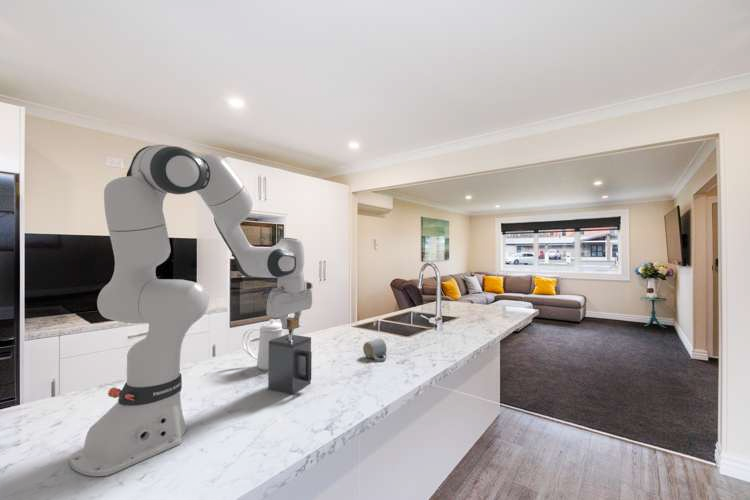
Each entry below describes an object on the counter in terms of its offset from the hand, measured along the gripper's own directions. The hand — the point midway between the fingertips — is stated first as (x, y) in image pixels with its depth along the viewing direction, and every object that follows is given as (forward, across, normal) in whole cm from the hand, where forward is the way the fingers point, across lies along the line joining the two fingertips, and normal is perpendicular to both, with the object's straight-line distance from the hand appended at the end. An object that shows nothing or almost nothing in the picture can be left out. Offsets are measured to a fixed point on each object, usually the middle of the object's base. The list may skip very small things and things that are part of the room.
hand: (290, 326), depth 114 cm
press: (+21, 0, -2) cm, 21 cm away
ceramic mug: (+21, +41, -14) cm, 48 cm away
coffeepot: (+21, +13, +19) cm, 31 cm away
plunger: (+17, 0, 0) cm, 17 cm away
